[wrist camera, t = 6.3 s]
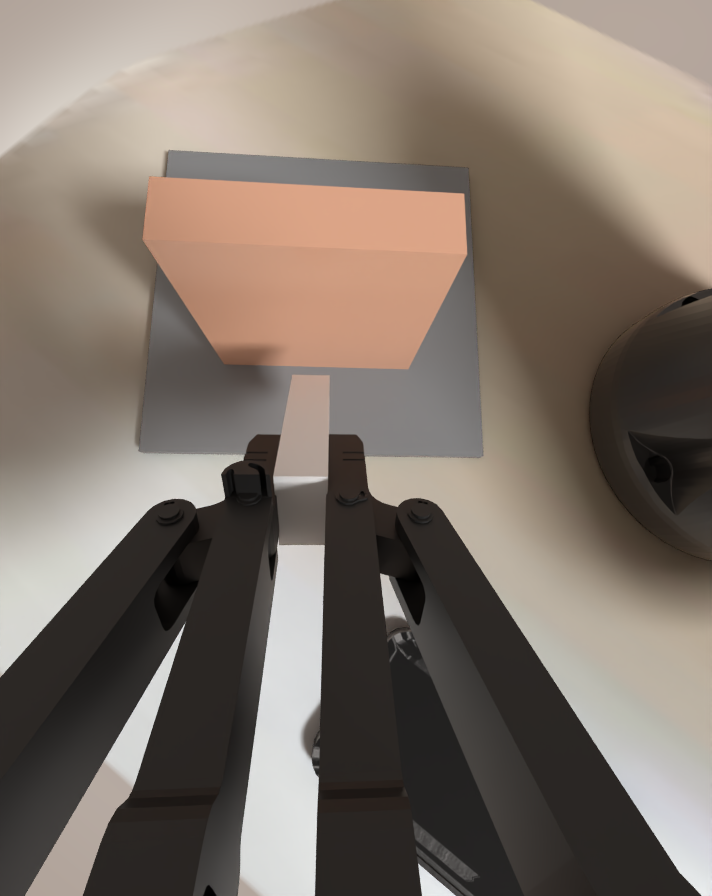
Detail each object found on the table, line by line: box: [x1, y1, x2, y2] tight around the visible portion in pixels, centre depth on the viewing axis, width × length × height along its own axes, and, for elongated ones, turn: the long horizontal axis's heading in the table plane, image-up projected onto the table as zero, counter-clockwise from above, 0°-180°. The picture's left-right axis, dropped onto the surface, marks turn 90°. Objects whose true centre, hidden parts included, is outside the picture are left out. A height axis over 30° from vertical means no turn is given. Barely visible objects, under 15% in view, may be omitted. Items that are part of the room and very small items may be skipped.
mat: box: [139, 150, 483, 458], centre depth 24 cm, size 18×18×1 cm
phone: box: [312, 628, 524, 896], centre depth 20 cm, size 8×1×15 cm
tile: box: [142, 176, 467, 369], centre depth 18 cm, size 10×2×10 cm, turn 90°
